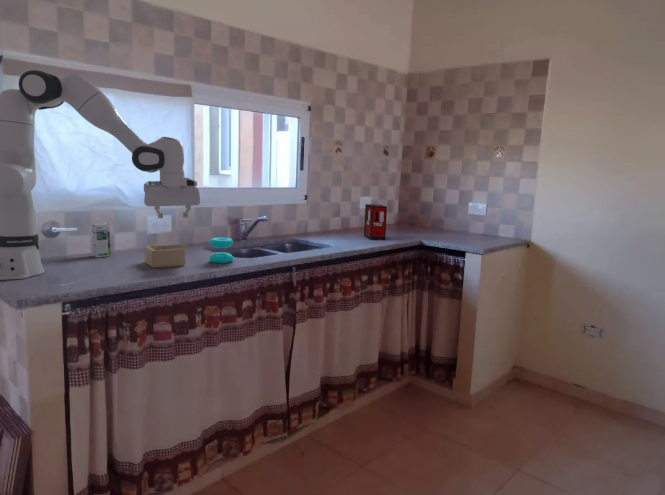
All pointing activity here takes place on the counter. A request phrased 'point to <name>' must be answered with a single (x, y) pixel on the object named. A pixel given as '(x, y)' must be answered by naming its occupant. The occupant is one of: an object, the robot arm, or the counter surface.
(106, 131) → the robot arm
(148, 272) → the counter surface
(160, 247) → the flap
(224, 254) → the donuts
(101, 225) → the syrup box
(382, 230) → the cleaning product box
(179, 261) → the carton
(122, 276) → the counter surface
